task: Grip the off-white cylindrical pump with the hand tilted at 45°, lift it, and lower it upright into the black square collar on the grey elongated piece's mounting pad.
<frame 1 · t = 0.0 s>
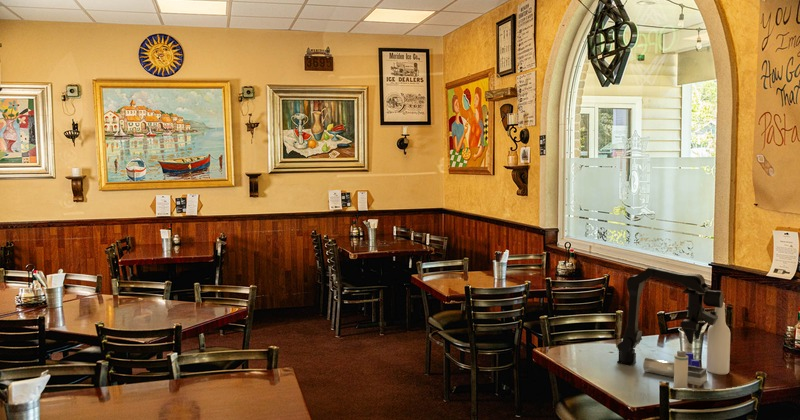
hand: (694, 341, 277), 15 cm above the table, tool pointing down, fingers open, 9 cm apart
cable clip: (689, 370, 286), on the table
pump: (680, 387, 264), on the table
alcohol: (717, 372, 284), on the table
grey elongated piece: (672, 376, 277), on the table
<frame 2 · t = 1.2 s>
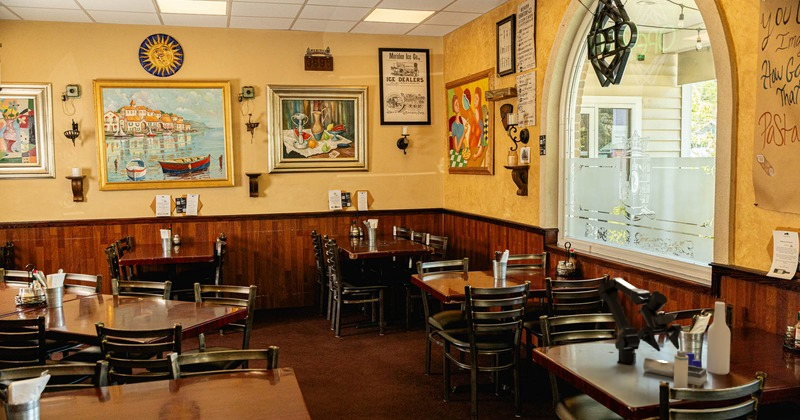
hand: (669, 350, 270), 13 cm above the table, tool tilted 45°, fingers open, 9 cm apart
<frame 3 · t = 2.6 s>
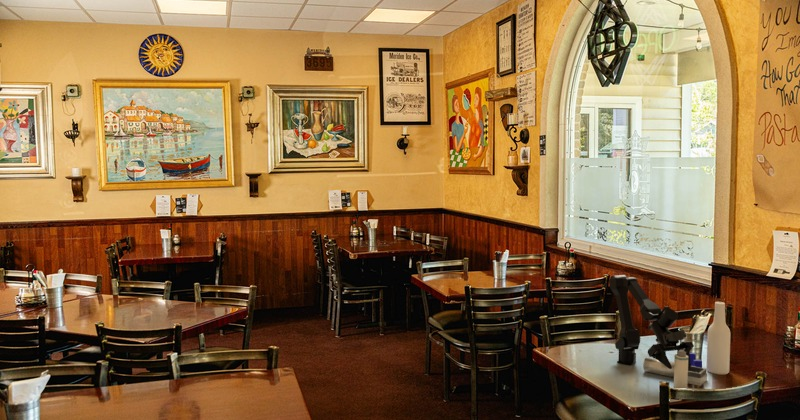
hand: (680, 367, 263), 8 cm above the table, tool tilted 45°, fingers open, 9 cm apart
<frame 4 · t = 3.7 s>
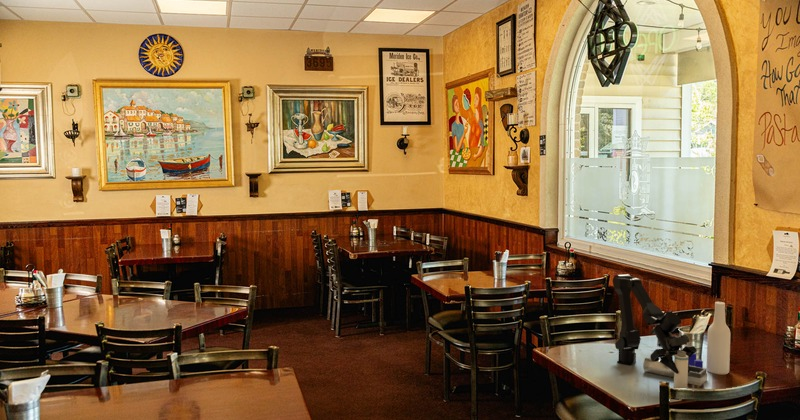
hand: (683, 372, 262), 7 cm above the table, tool tilted 45°, fingers closed on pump, 5 cm apart
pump: (680, 387, 264), on the table, touching gripper
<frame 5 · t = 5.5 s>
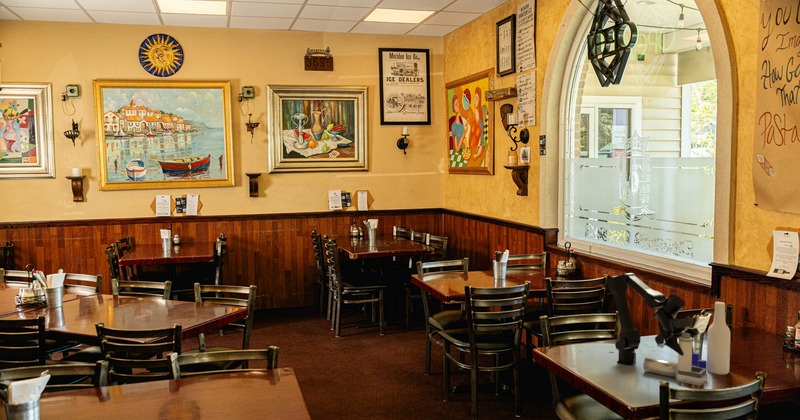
hand: (687, 354, 263), 13 cm above the table, tool tilted 45°, fingers closed on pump, 5 cm apart
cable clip: (696, 371, 286), on the table
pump: (684, 369, 265), point 7 cm above the table, touching gripper
everything else where it was.
when the fingers open (11 cm above the table, at t = 7.2 s): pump drops 1 cm, resting on grey elongated piece.
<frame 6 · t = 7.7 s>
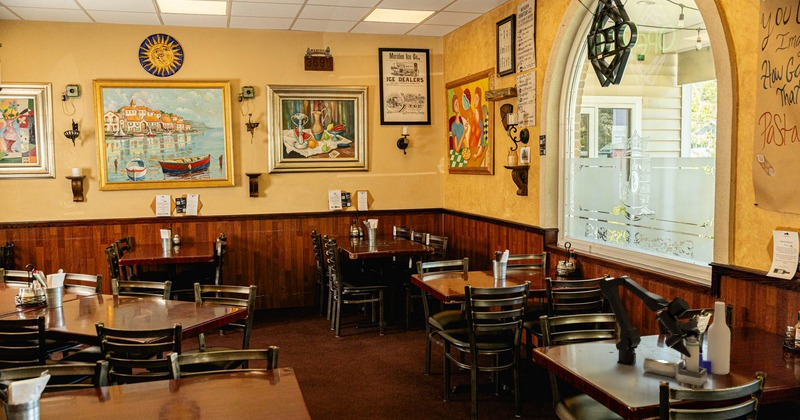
hand: (696, 355, 270), 11 cm above the table, tool tilted 45°, fingers open, 9 cm apart
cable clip: (700, 371, 286), on the table
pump: (692, 373, 272), point 3 cm above the table, touching grey elongated piece
everything else where it was.
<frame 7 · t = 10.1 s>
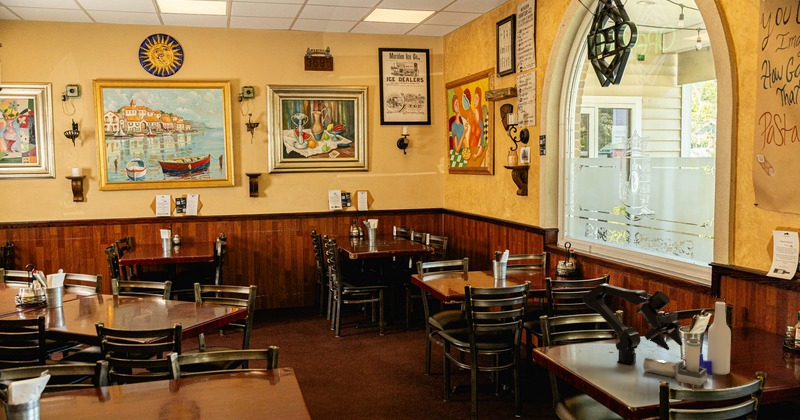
hand: (675, 347, 278), 12 cm above the table, tool tilted 45°, fingers open, 9 cm apart
nothing on the table moved.
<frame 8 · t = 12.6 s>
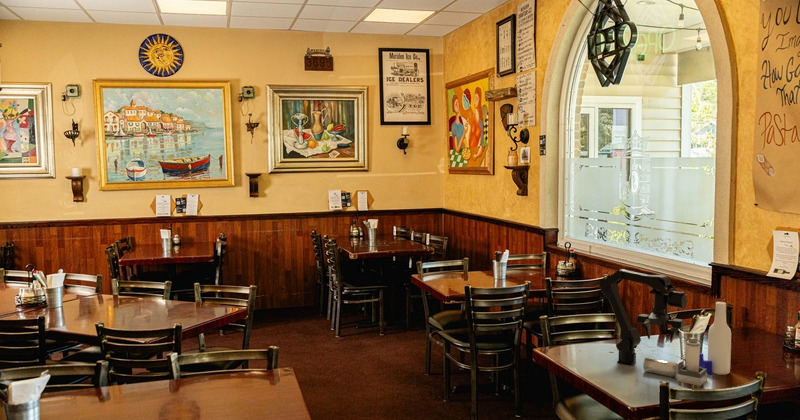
hand: (659, 340, 285), 13 cm above the table, tool pointing down, fingers open, 9 cm apart
nothing on the table moved.
at the end: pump 0.1 cm from the target spot on the grey elongated piece, point 3.0 cm above the grey elongated piece's base; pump tilted 0°; the gripper is holding nothing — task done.
